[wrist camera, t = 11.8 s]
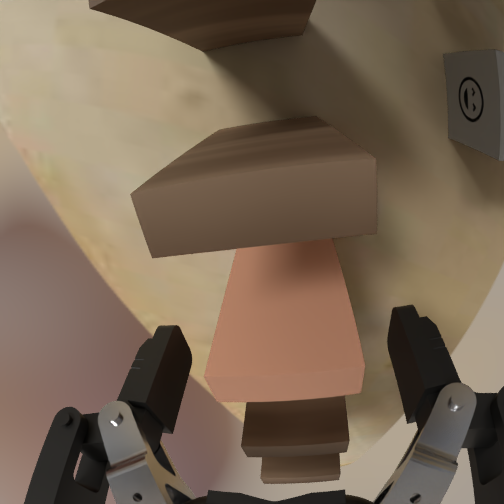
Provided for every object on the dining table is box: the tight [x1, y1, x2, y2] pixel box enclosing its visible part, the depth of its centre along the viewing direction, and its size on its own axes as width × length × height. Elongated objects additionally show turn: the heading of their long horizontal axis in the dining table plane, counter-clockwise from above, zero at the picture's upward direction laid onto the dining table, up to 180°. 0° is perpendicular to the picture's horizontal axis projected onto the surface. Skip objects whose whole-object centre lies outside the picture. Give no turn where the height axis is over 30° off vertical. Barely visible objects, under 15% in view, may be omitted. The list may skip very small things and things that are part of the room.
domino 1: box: [89, 0, 316, 52], centre depth 7 cm, size 2×5×10 cm, turn 100°
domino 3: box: [204, 238, 365, 402], centre depth 13 cm, size 2×5×10 cm, turn 100°
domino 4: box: [241, 395, 349, 457], centre depth 16 cm, size 2×5×10 cm, turn 100°
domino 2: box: [130, 116, 377, 258], centre depth 10 cm, size 2×5×10 cm, turn 100°
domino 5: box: [261, 453, 340, 484], centre depth 19 cm, size 2×5×10 cm, turn 100°
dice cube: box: [443, 49, 504, 161], centre depth 9 cm, size 5×5×5 cm
